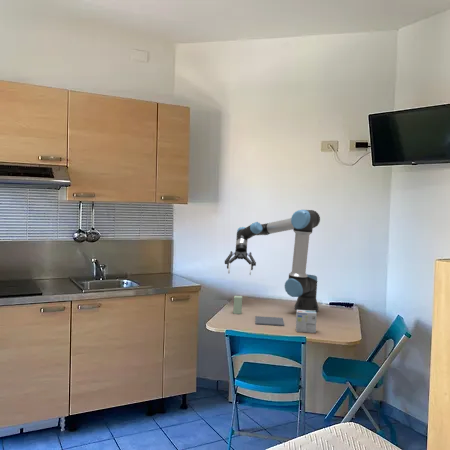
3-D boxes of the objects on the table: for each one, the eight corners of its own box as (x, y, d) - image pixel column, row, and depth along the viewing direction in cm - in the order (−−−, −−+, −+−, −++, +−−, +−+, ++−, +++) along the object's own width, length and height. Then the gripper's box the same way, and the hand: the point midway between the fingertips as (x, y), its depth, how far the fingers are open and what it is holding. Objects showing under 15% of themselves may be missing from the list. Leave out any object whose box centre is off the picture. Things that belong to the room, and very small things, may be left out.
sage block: (241, 312, 287) (242, 296, 287) (241, 314, 282) (242, 297, 282) (233, 311, 288) (234, 295, 287) (233, 313, 283) (233, 297, 282)
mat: (282, 319, 274) (282, 317, 274) (284, 326, 258) (284, 324, 258) (255, 317, 275) (255, 316, 275) (255, 324, 259) (255, 323, 259)
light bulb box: (315, 329, 254) (316, 310, 253) (316, 333, 247) (317, 313, 246) (295, 328, 255) (296, 309, 254) (295, 331, 248) (296, 311, 247)
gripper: (259, 251, 313) (258, 277, 299) (222, 249, 314) (220, 275, 300) (260, 244, 307) (259, 270, 293) (222, 242, 309) (219, 268, 295)
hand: (239, 272), depth 296 cm, fingers open, 13 cm apart
